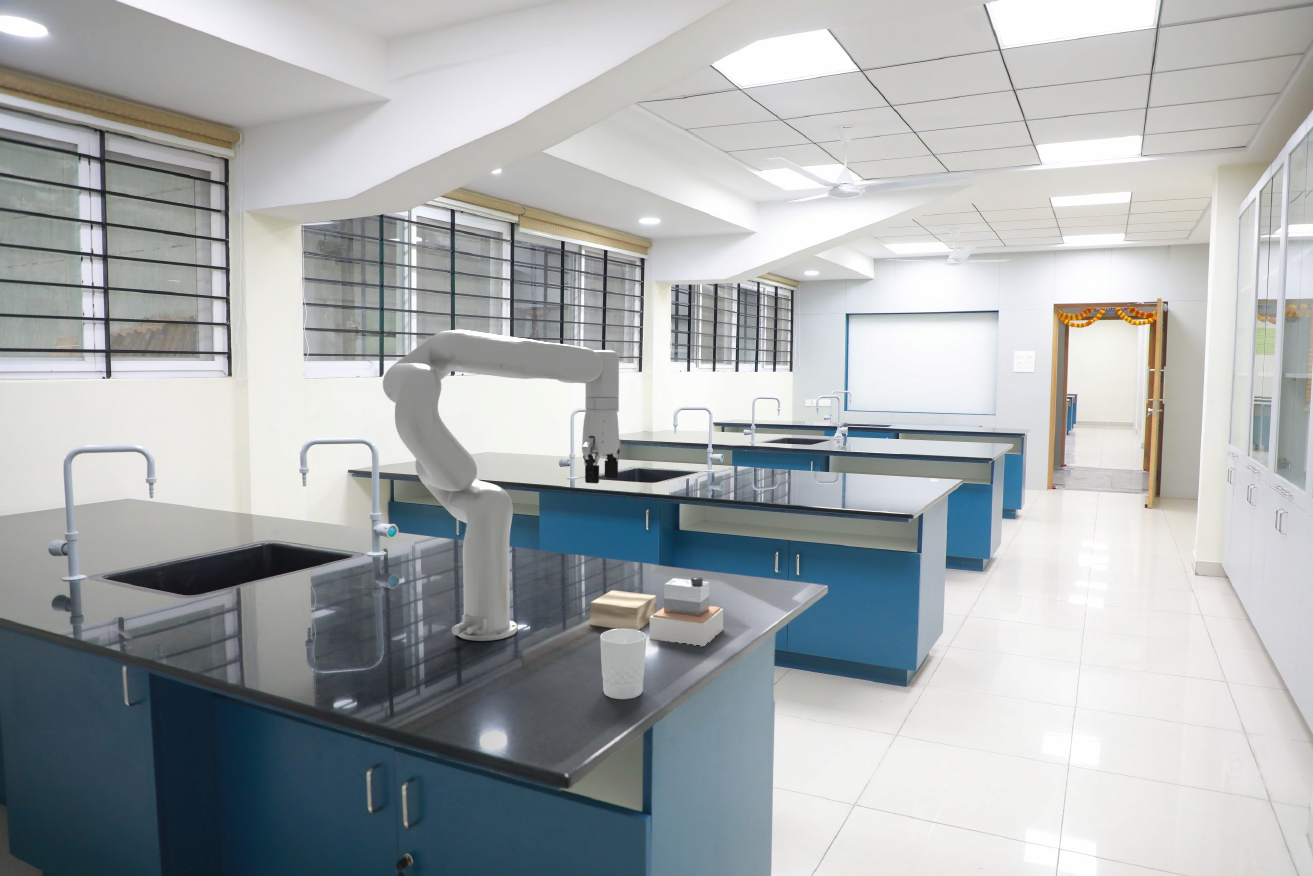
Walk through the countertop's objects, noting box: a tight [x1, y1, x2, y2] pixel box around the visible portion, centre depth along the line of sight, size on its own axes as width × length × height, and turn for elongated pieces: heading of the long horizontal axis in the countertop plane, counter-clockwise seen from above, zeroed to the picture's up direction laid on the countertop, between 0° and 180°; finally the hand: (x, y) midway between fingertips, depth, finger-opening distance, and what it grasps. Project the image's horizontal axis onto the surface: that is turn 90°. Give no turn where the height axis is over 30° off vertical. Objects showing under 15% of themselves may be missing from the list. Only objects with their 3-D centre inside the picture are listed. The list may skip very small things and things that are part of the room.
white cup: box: [599, 628, 647, 700], centre depth 144 cm, size 8×8×10 cm
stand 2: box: [649, 605, 724, 647], centre depth 176 cm, size 12×12×5 cm
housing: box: [663, 576, 710, 617], centre depth 175 cm, size 8×6×7 cm
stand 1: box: [589, 590, 658, 631], centre depth 184 cm, size 11×11×5 cm
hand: (601, 480), depth 190 cm, fingers open, 9 cm apart
